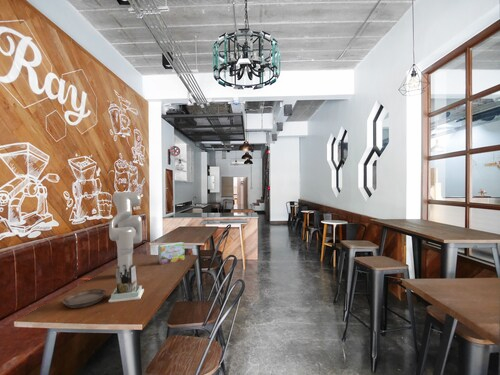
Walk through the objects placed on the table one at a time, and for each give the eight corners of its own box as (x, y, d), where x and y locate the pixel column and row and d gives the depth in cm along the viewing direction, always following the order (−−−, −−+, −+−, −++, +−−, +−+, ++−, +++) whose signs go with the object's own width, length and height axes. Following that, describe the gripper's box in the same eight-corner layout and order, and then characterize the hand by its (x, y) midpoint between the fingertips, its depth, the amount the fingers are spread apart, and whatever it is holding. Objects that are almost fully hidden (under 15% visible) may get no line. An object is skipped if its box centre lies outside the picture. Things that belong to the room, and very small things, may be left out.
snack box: (160, 265, 217) (160, 246, 217) (158, 263, 221) (157, 245, 221) (184, 260, 231) (184, 242, 231) (181, 258, 235) (181, 241, 235)
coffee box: (137, 292, 158) (136, 264, 158) (132, 296, 151) (131, 267, 151) (122, 292, 158) (121, 264, 158) (116, 296, 152) (115, 267, 152)
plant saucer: (52, 309, 140) (52, 303, 140) (82, 293, 160) (82, 288, 160) (89, 310, 137) (88, 304, 137) (114, 294, 158) (114, 289, 158)
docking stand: (115, 293, 159) (115, 287, 159) (143, 290, 162) (143, 284, 162) (108, 302, 146) (108, 296, 146) (139, 299, 150) (139, 292, 150)
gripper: (122, 247, 162) (123, 276, 162) (114, 255, 145) (115, 286, 145) (136, 247, 164) (136, 275, 164) (129, 254, 147) (130, 285, 147)
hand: (126, 280), depth 155 cm, fingers open, 9 cm apart
